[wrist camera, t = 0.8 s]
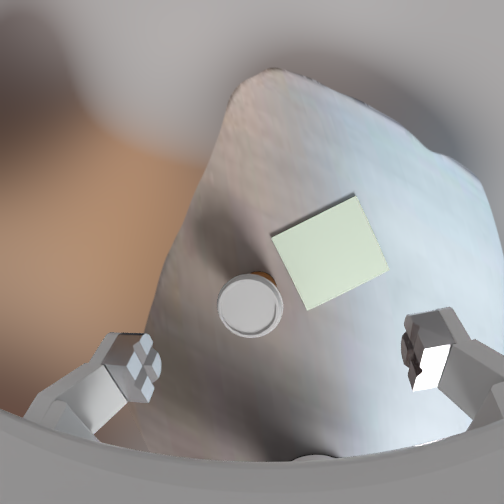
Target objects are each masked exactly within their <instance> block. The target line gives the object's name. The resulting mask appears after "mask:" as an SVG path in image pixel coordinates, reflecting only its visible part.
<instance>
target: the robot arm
mask: <svg viewBox="0 0 504 504" xmlns="http://www.w3.org/2000/svg"><path fill="white" fill-rule="evenodd" d="M404 326H405V329H406V332H405V333H404V334H403V335H402V341H401V354H402V359H403V362H404V365H406V366H407V367H409V372H408V378H409V381H410V384H411V387H412V390H413V391H416V390H422V389H427V388H433V387H437V388H438V389H439V390H440V391H442V392H443V393H444V394H445V395H446V396H447V397H448V398H449V399H450V400H452V401H453V402H454V403H455V404H456V405H457V406H458V407H459V408H460V409H461V410H463V411H464V412H465V413H466V414H467V415H468V416H469V417H470V418H471V419H472V420H473V421H472V422H471V424H470V426H469V427H468V429H467V430H466V432H464V433H460V434H457V435H454V436H450V437H447V438H443V439H439V440H436V441H432V442H428V443H424V444H419V445H415V446H411V447H406V448H401V449H396V450H391V451H385V452H380V453H373V454H367V455H360V456H352V457H344V458H333V457H330V456H325V455H308V456H303V457H300V458H297V459H295V460H293V461H291V462H240V461H220V460H206V459H195V458H186V457H177V456H170V455H163V454H156V453H150V452H144V451H138V450H133V449H128V448H123V447H118V446H114V445H109V444H105V443H101V442H100V441H99V440H98V439H97V438H96V437H95V436H94V435H93V434H94V433H95V432H97V430H99V429H100V428H101V427H102V426H103V425H104V424H105V423H106V422H107V421H108V420H109V419H110V418H112V417H113V416H114V415H115V414H116V413H117V412H118V411H119V410H120V409H121V408H122V407H123V406H124V405H125V404H126V403H127V401H131V402H142V403H149V401H150V398H151V396H152V393H153V391H154V386H153V382H155V381H156V380H157V379H158V378H159V376H160V373H161V359H160V356H159V354H158V352H157V351H156V350H154V349H153V348H152V344H153V341H152V339H151V337H150V335H148V334H145V333H114V332H110V333H108V334H107V335H106V336H105V338H104V339H103V341H102V342H101V344H100V346H99V347H98V349H97V350H96V352H95V354H94V355H93V357H92V358H91V360H90V362H89V363H84V364H83V365H81V366H80V367H78V368H77V369H75V370H74V371H72V372H71V373H69V374H68V375H66V376H65V377H63V378H62V379H60V380H59V381H57V382H55V383H54V384H52V385H51V386H49V387H48V388H46V389H45V390H43V391H42V392H40V393H39V394H38V395H37V396H36V398H35V399H34V401H33V403H32V404H31V406H30V407H29V409H28V411H27V412H26V414H25V416H24V417H23V418H21V417H19V416H16V415H14V414H11V413H9V412H6V411H4V410H2V409H0V504H504V356H503V355H502V354H500V353H498V352H497V351H495V350H493V349H491V348H490V347H488V346H486V345H484V344H483V343H481V342H479V341H477V340H476V339H474V340H471V339H470V337H469V335H468V333H467V332H466V330H465V328H464V327H463V325H462V323H461V322H460V320H459V318H458V317H457V315H456V313H455V312H454V310H453V309H452V308H451V307H446V308H441V309H436V310H432V311H426V312H420V313H414V314H408V315H406V318H405V322H404Z"/></svg>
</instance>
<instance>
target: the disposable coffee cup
mask: <svg viewBox="0 0 504 504" xmlns="http://www.w3.org/2000/svg"><path fill="white" fill-rule="evenodd" d="M217 309H218V314H219V316H220V318H221V320H222V322H223V324H224V325H225V326H226V328H228V329H229V330H230V331H231V332H232V333H234V334H236V335H238V336H241V337H246V338H254V337H260V336H263V335H266V334H268V333H269V332H271V331H272V330H273V329H274V328H275V327H276V326H277V325H278V323H279V322H280V320H281V317H282V314H283V301H282V297H281V294H280V292H279V291H278V289H277V286H276V283H275V281H274V279H273V278H272V277H271V276H270V275H268V274H267V273H264V272H253V273H250V274H242V275H239V276H236V277H234V278H232V279H230V280H229V281H228V282H227V283H226V284H225V285H224V286H223V287H222V289H221V290H220V293H219V295H218V299H217Z"/></svg>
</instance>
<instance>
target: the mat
mask: <svg viewBox="0 0 504 504" xmlns="http://www.w3.org/2000/svg"><path fill="white" fill-rule="evenodd" d="M271 239H272V241H273V243H274V244H275V246H276V248H277V250H278V252H279V254H280V256H281V258H282V260H283V262H284V264H285V266H286V268H287V270H288V272H289V274H290V276H291V278H292V281H293V283H294V285H295V287H296V289H297V291H298V293H299V295H300V297H301V299H302V301H303V303H304V305H305V307H306V309H307V311H308V310H310V309H312V308H314V307H316V306H318V305H320V304H323V303H325V302H327V301H329V300H331V299H333V298H335V297H337V296H339V295H341V294H343V293H345V292H347V291H349V290H351V289H353V288H355V287H357V286H359V285H361V284H363V283H365V282H367V281H369V280H371V279H373V278H375V277H377V276H379V275H381V274H383V273H385V272H387V271H389V268H388V265H387V263H386V260H385V258H384V256H383V253H382V251H381V249H380V246H379V244H378V242H377V240H376V237H375V235H374V233H373V231H372V228H371V226H370V224H369V222H368V220H367V218H366V215H365V213H364V211H363V209H362V207H361V205H360V203H359V201H358V199H357V197H356V196H354V197H352V198H350V199H348V200H346V201H344V202H342V203H340V204H338V205H336V206H334V207H332V208H330V209H328V210H326V211H324V212H322V213H320V214H318V215H316V216H314V217H312V218H310V219H308V220H306V221H304V222H302V223H300V224H298V225H296V226H294V227H292V228H290V229H288V230H286V231H284V232H282V233H280V234H278V235H276V236H274V237H272V238H271Z"/></svg>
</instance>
